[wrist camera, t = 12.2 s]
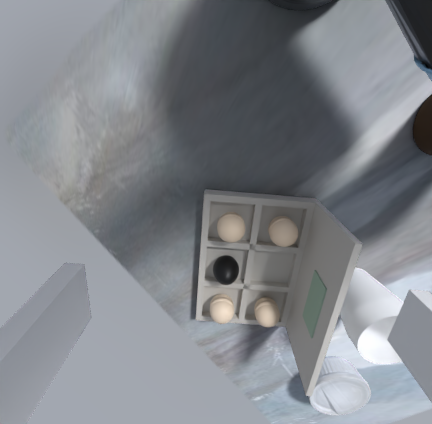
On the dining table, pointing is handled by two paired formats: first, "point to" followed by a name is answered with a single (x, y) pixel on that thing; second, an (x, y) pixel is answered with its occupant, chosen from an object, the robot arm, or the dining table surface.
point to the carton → (277, 269)
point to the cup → (370, 317)
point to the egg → (225, 270)
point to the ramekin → (339, 388)
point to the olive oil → (424, 127)
